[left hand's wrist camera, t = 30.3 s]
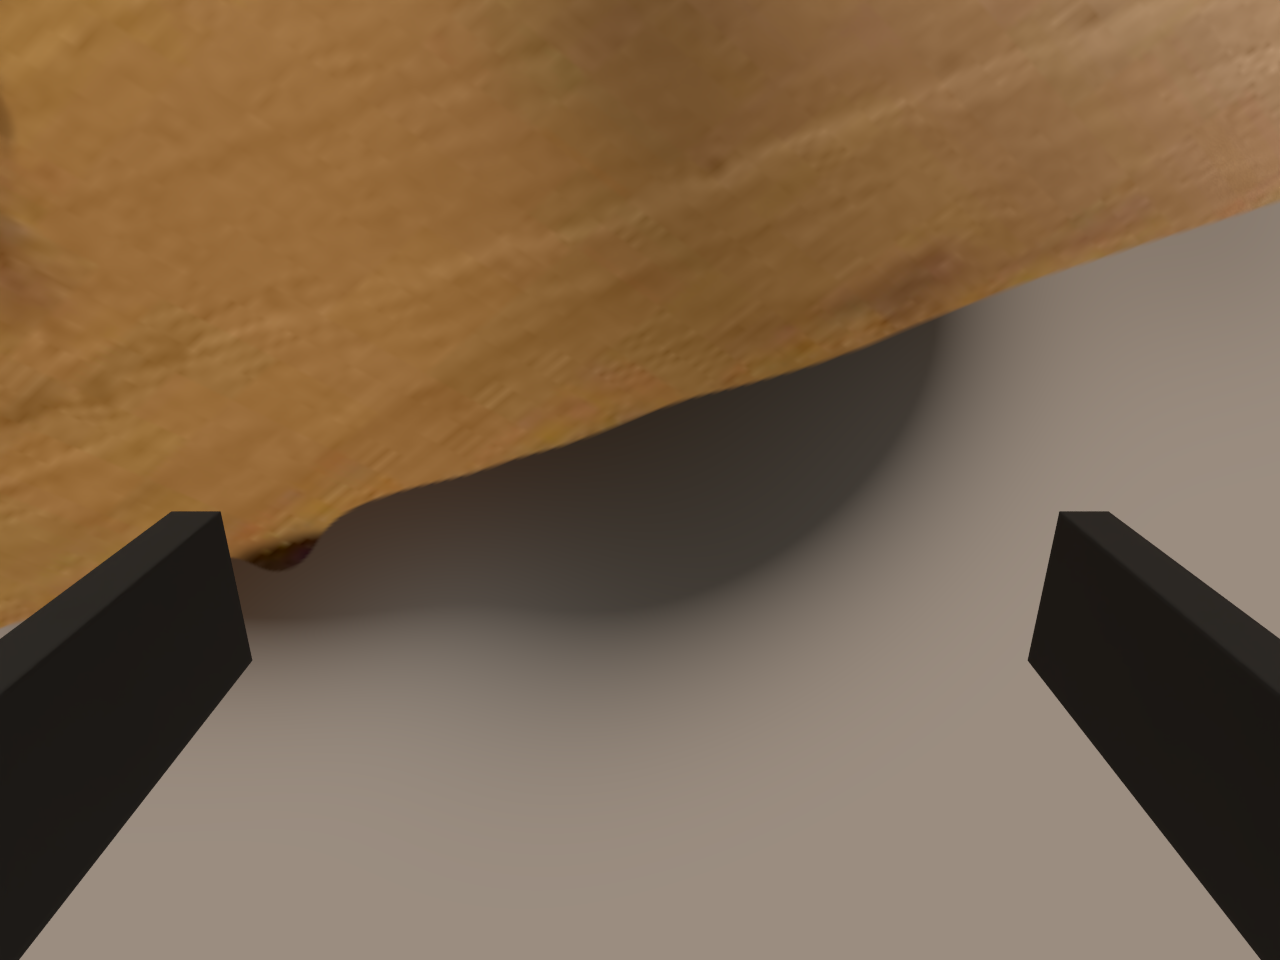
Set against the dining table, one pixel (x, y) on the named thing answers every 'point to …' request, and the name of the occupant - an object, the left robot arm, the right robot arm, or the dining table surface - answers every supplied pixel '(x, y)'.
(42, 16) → the dining table surface
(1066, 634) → the left robot arm
